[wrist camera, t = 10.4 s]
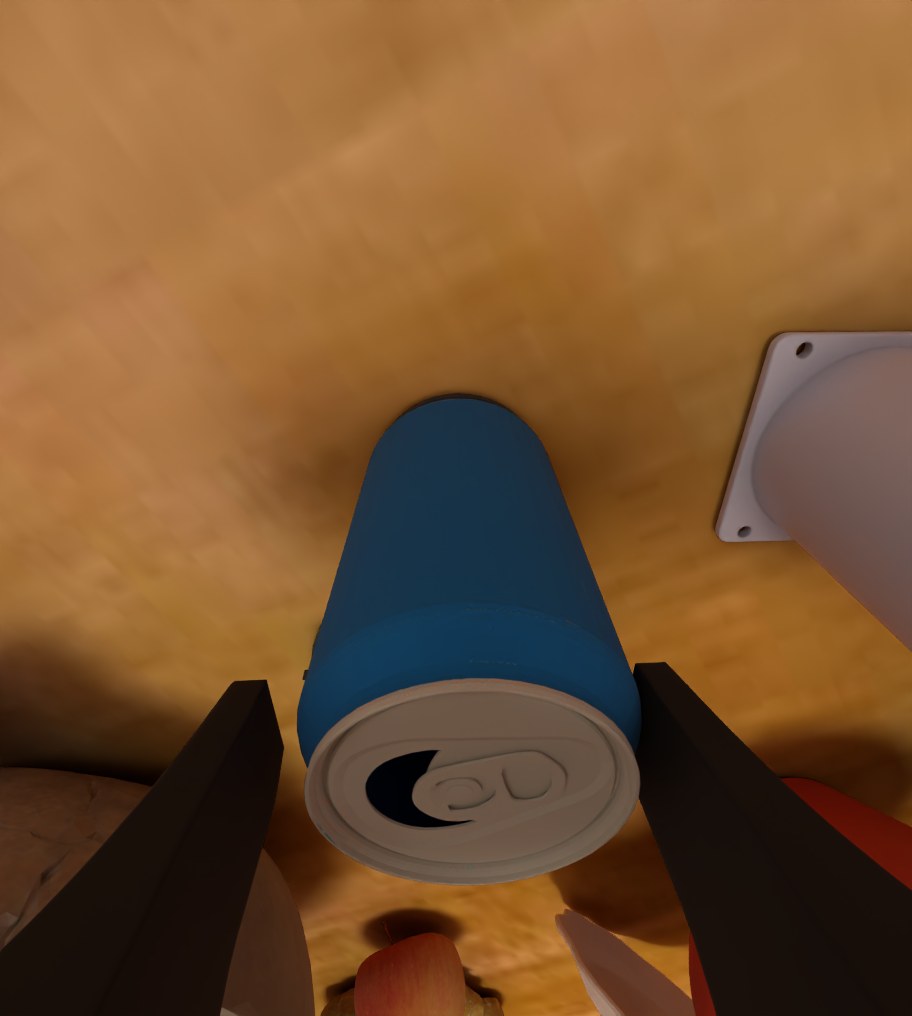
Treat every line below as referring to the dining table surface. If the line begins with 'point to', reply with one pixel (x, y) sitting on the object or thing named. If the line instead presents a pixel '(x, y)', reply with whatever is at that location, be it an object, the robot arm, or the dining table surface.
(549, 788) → the beverage can
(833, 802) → the decorative vase
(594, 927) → the plate
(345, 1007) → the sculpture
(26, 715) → the dining table surface
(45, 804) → the bowl
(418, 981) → the apple
